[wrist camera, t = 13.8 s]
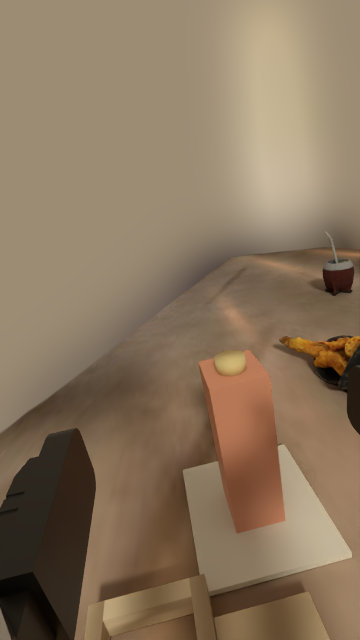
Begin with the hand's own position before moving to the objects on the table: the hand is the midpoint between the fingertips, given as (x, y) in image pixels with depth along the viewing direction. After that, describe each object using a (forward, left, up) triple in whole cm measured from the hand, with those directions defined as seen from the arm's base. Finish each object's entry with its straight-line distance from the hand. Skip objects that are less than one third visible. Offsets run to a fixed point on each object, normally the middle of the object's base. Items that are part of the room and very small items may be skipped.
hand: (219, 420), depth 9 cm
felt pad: (+3, +14, -22) cm, 26 cm away
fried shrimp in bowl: (+22, +31, -22) cm, 44 cm away
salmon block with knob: (+3, +14, -21) cm, 26 cm away
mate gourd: (+44, +65, -22) cm, 81 cm away
